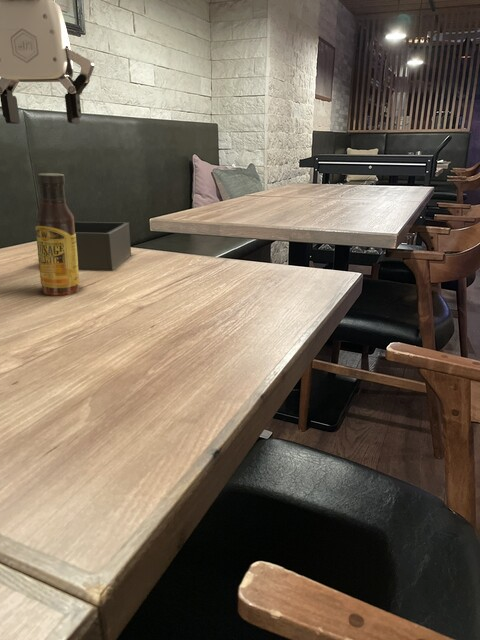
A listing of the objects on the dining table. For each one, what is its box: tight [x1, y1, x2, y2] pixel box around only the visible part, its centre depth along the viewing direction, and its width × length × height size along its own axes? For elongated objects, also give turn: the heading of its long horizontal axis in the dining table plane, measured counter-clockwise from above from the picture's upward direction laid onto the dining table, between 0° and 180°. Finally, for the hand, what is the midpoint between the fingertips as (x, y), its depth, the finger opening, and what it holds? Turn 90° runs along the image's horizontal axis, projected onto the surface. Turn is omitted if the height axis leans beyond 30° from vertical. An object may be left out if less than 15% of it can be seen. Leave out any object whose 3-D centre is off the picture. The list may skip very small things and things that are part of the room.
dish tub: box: [74, 221, 132, 272], centre depth 104 cm, size 15×14×8 cm
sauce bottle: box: [35, 172, 80, 297], centre depth 82 cm, size 6×6×20 cm
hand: (43, 123), depth 76 cm, fingers open, 9 cm apart
